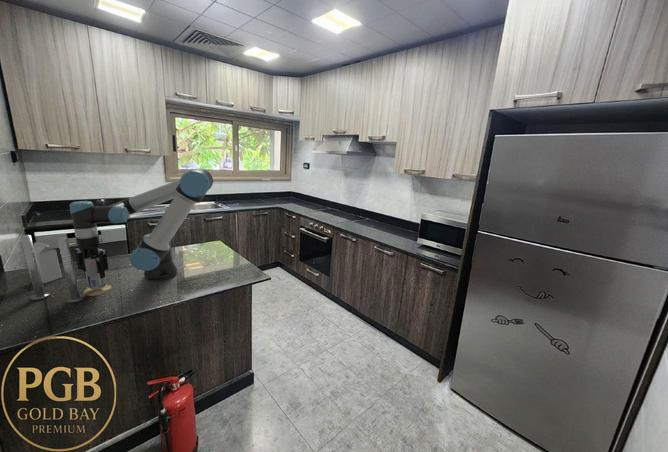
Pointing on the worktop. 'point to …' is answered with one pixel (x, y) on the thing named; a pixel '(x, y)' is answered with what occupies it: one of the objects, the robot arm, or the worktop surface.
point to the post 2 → (69, 271)
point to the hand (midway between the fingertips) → (96, 283)
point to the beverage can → (93, 273)
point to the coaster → (97, 291)
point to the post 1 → (33, 269)
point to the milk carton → (47, 262)
